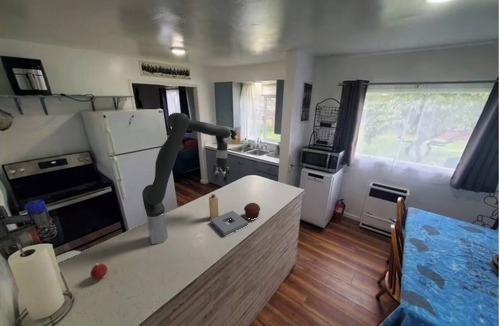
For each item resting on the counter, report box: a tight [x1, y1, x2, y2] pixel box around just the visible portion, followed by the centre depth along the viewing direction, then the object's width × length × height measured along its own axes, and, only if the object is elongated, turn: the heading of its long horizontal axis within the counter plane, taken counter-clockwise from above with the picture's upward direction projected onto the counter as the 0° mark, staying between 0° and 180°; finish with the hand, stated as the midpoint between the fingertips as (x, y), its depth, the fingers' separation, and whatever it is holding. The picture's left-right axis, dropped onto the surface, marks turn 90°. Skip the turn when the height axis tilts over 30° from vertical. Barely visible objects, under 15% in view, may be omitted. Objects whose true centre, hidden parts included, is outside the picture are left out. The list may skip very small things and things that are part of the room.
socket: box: [209, 210, 249, 237], centre depth 126 cm, size 18×18×3 cm
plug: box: [208, 193, 219, 219], centre depth 131 cm, size 4×4×18 cm
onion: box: [90, 262, 108, 280], centre depth 85 cm, size 6×6×8 cm
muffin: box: [243, 202, 261, 219], centre depth 135 cm, size 12×11×10 cm
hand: (220, 180), depth 131 cm, fingers open, 8 cm apart
